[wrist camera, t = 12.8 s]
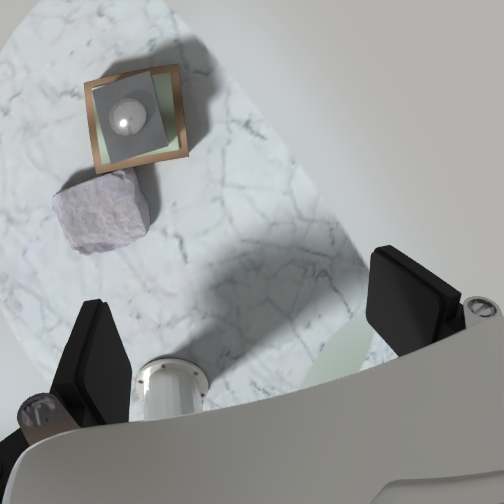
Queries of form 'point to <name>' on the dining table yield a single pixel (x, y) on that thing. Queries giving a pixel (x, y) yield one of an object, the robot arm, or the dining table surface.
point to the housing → (130, 117)
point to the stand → (171, 112)
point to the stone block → (103, 212)
